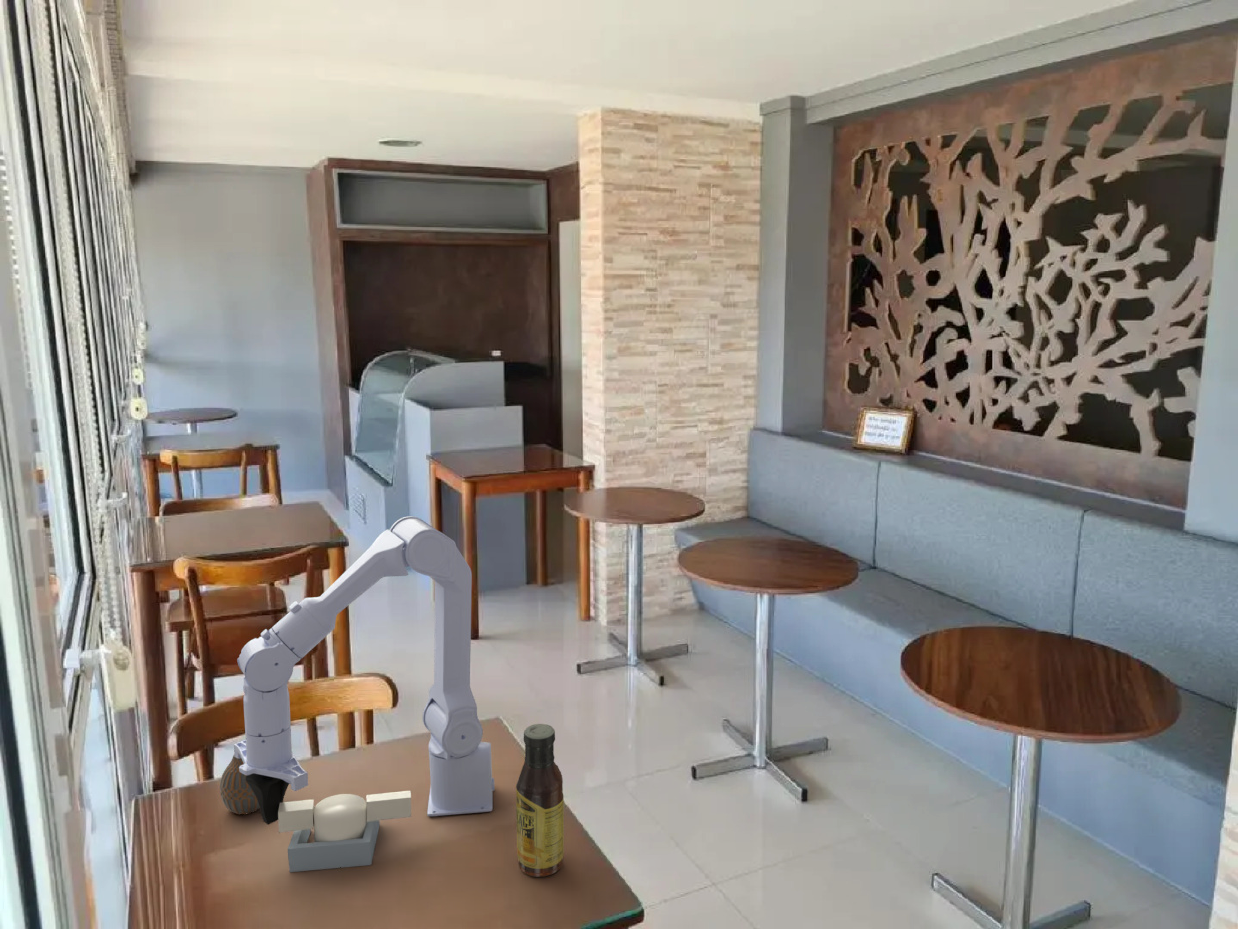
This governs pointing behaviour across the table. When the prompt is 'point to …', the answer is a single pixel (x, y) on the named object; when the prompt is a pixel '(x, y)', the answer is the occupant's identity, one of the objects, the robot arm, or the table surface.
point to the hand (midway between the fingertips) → (272, 820)
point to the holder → (331, 851)
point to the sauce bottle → (540, 805)
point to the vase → (237, 789)
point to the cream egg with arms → (342, 814)
